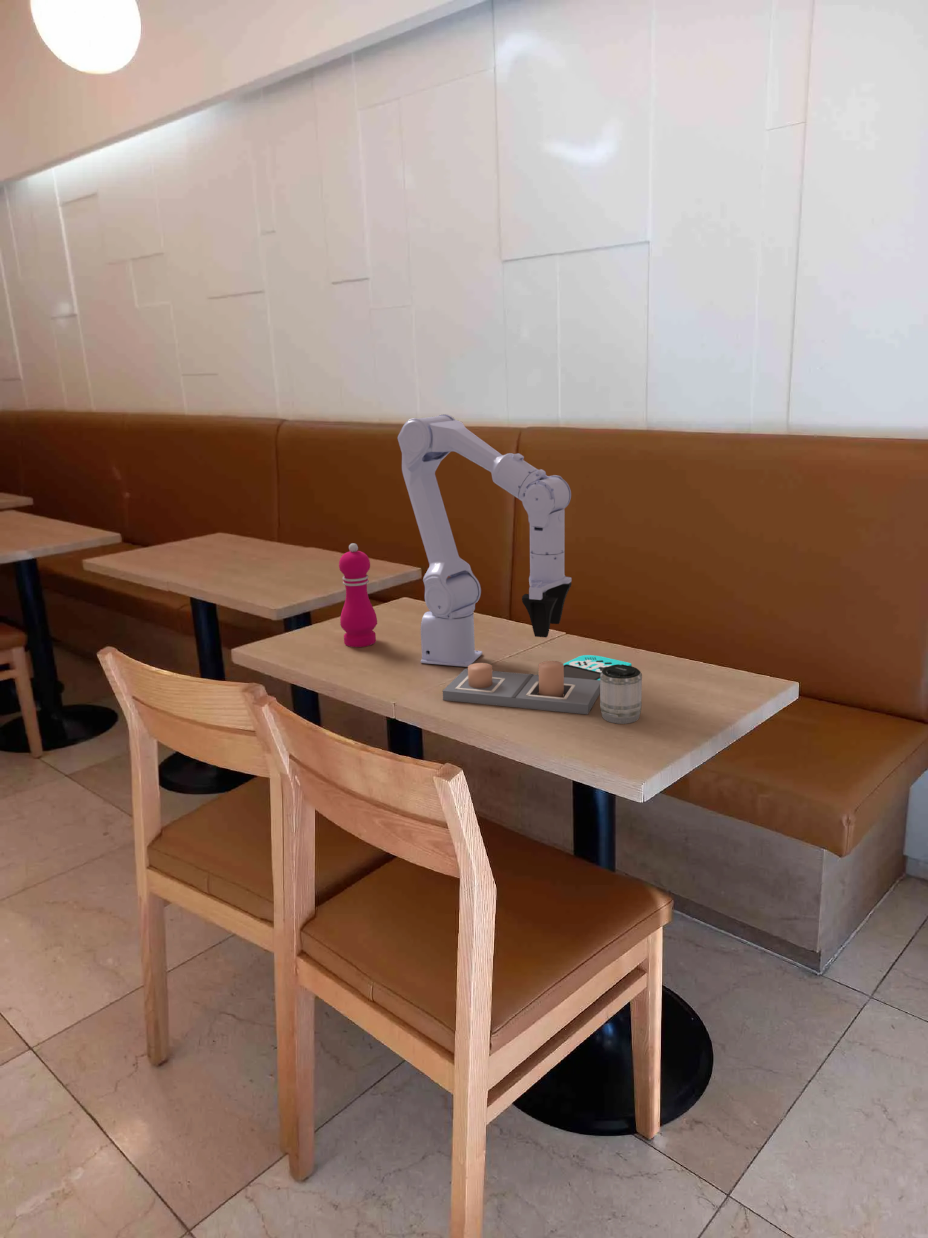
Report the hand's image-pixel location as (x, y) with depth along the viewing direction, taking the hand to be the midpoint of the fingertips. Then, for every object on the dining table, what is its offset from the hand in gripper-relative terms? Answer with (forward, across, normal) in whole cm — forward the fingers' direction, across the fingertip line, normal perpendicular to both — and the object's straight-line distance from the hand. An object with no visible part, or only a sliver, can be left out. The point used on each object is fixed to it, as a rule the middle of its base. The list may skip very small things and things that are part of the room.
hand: (547, 629), depth 153 cm
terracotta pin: (+9, -9, -3) cm, 13 cm away
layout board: (+9, -8, +2) cm, 12 cm away
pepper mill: (+9, +10, +41) cm, 43 cm away
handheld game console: (+10, +4, -6) cm, 12 cm away
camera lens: (+9, -13, -15) cm, 22 cm away
